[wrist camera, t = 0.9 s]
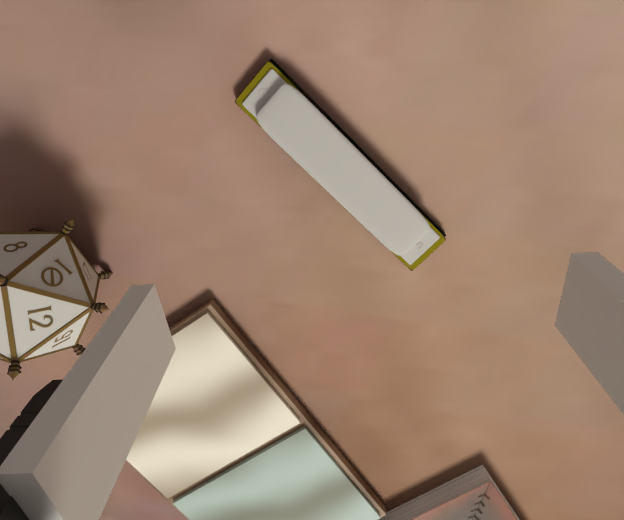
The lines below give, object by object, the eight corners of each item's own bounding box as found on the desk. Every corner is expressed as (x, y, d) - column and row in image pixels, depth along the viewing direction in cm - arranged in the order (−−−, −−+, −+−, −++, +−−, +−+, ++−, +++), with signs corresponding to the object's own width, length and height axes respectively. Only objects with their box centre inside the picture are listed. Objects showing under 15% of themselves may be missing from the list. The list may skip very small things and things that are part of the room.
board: (68, 394, 30) (60, 404, 29) (212, 299, 28) (209, 306, 27) (254, 572, 36) (253, 585, 35) (384, 505, 34) (387, 518, 33)
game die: (67, 259, 31) (-126, 297, 23) (97, 175, 26) (-136, 186, 18) (126, 361, 28) (-65, 442, 21) (171, 290, 24) (-57, 361, 16)
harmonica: (443, 232, 27) (453, 240, 25) (407, 265, 28) (415, 276, 26) (272, 59, 24) (269, 54, 22) (237, 102, 24) (231, 100, 22)
